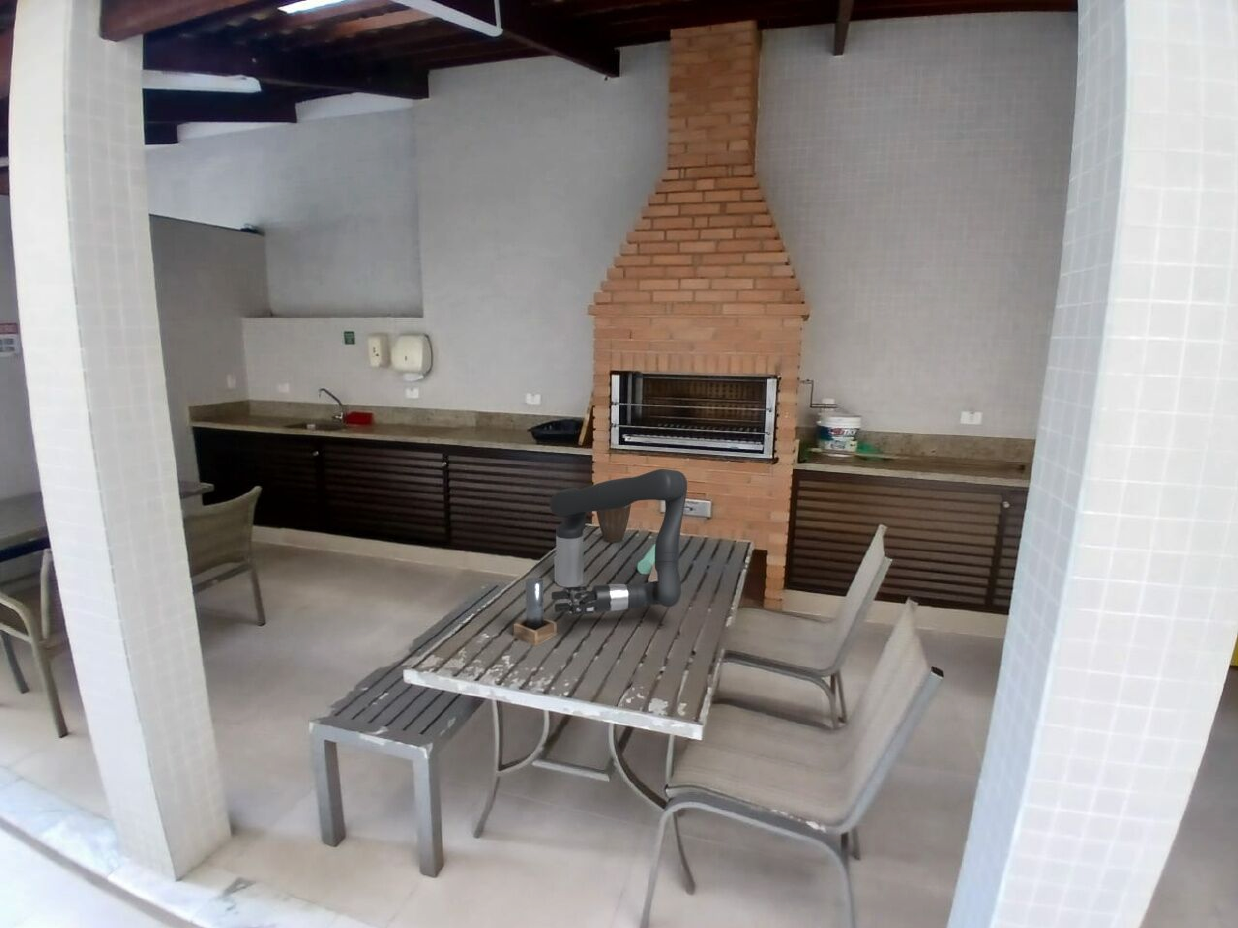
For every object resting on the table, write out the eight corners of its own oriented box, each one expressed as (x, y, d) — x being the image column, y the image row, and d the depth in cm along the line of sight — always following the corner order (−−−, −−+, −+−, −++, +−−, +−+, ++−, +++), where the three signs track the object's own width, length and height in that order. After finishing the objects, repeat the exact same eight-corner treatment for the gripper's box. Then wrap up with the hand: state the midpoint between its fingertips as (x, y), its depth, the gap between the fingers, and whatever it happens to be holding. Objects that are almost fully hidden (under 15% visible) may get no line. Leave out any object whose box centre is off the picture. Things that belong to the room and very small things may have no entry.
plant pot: (591, 544, 260) (591, 507, 257) (599, 534, 275) (599, 498, 272) (627, 546, 258) (628, 508, 255) (632, 536, 272) (633, 500, 269)
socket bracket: (512, 639, 176) (512, 624, 175) (535, 628, 183) (535, 613, 182) (534, 649, 171) (534, 633, 170) (558, 637, 178) (557, 622, 177)
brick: (672, 594, 210) (672, 580, 209) (647, 592, 211) (647, 579, 210) (675, 576, 226) (676, 564, 225) (652, 575, 227) (652, 562, 226)
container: (655, 537, 250) (640, 556, 227) (668, 544, 249) (655, 564, 226) (649, 550, 252) (634, 570, 228) (662, 557, 251) (649, 578, 227)
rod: (523, 635, 176) (521, 581, 173) (535, 629, 180) (534, 576, 177) (535, 640, 174) (534, 585, 171) (547, 634, 177) (546, 580, 174)
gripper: (605, 576, 185) (550, 579, 182) (615, 594, 172) (555, 599, 168) (605, 600, 187) (550, 604, 184) (614, 620, 173) (555, 625, 170)
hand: (553, 601), depth 176 cm, fingers open, 8 cm apart
